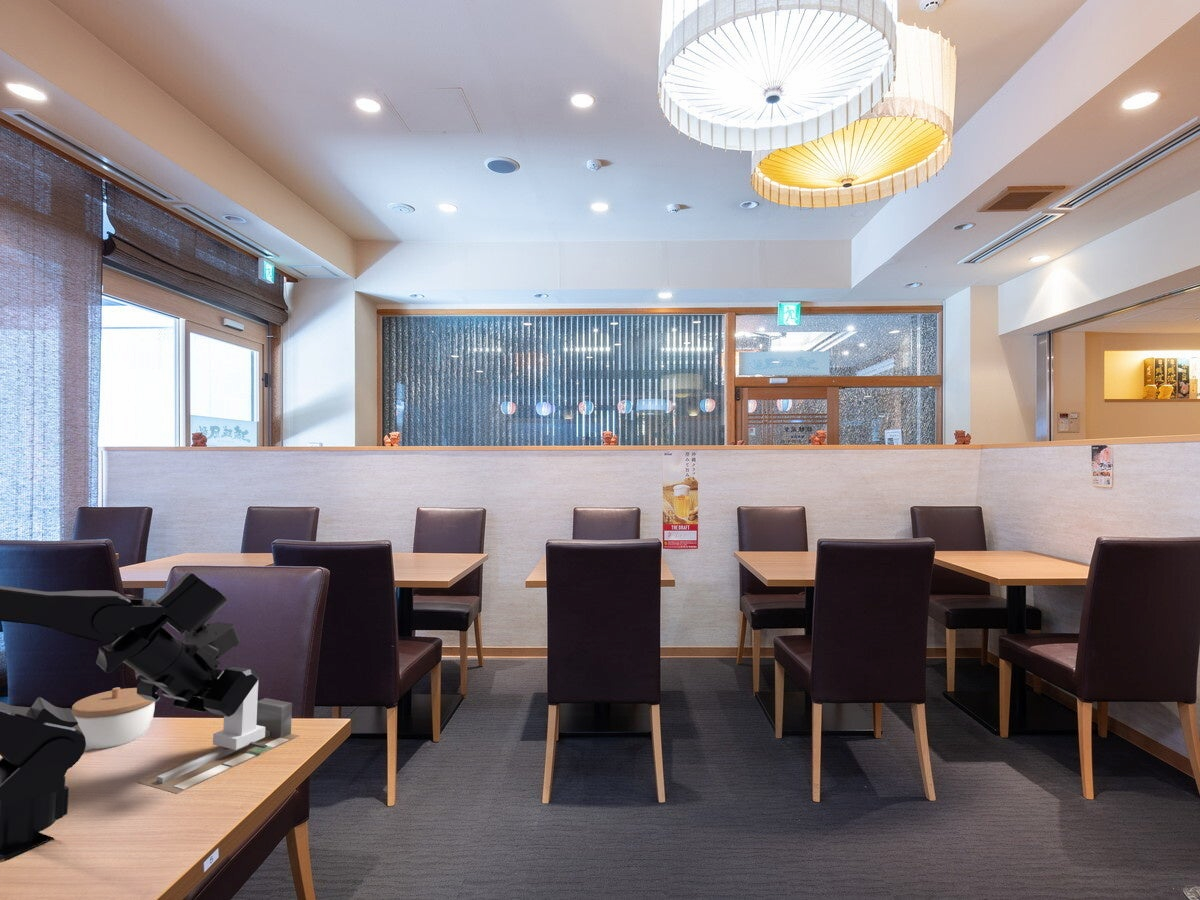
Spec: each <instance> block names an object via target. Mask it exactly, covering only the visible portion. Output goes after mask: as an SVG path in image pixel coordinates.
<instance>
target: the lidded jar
mask: <svg viewBox="0 0 1200 900" xmlns="http://www.w3.org/2000/svg"><path fill="white" fill-rule="evenodd" d="M155 706H156V702H155V701H150V700H146V699H144V698H143V697H141V696H140V695H138V694H137V687H131V688H130V687H128V688H121V687H114V688H112V689H111V690H108V691H103V692H100V693H96V694H92V695H89V696H86V697H83V698H81V699H79V700H77V701H76V702H75V703H74V704H73V705H71V711H72V713H73V715H74V717H75V718H76V720H77V722H78V725H79V727H80V729H81V731H82V733H83V734H84V736H85V740H86V747H85V750H84V751H86V752H87V751H90V750H101V749H109V748H114V747H118V746H122V745H126V744H128V743H131V742H132V743H133V742H134V741H136V740H138V739H140V738H142V737H143V736H144V735H145V734H146V733H147V732H148V730H149V728H150V726H151V724H152V722H153V718H154V714H155Z"/></svg>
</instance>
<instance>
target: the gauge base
mask: <svg viewBox="0 0 1200 900" xmlns="http://www.w3.org/2000/svg"><path fill="white" fill-rule="evenodd" d="M292 714H293V702H289V701H285V700H283V701H282V700H278V699H273V698H269V697H264V698H262V699H260V700H257V722H256V725H259V726H264V727H265V737H264V738H262V739H260V740H257V741H255V742H256V743H260V744H264V745H267V747H266V748H260V747H256V746H251V745H249V744H248V745H246V746H244V747H242V748H239V749H237V750H234V749H230V748H226V747H221V746H218V747H217V748H215V749H212V750H210V751H208V752H205V753H202V754H201V755H198V756H196V757H193V758H192V759H189V760H186V761H183V762H182V763H180V764H177V765H175V766H173V767H170V768H168V769H166V770H163V771H160V772H157V773H156V774H154V775H151V776H149V777H147V778H144V779H142V780H140V781H137V783H138V784H141V785H144V786H147V787H151V788H154V789H158V790H162V791H164V792H169V793H172V794H175V795H177V794H180V793H182V792H184V791H186V790H188V789H190V788H192V787H195V786H197V785H199V784H201V783H204V782H206V781H208V780H209V779H211V778H213V777H216V776H218V775H219V774H222V773H225V772H226V771H229V770H231V769H233V768H235V767H238V766H239V765H241V764H243V763H246V762H248V761H249V760H252V759H254V758H257V757H258V756H261V755H263V754H265V753H267V752H269V751H271V750H273V749H276V748H278V747H279V746H282V745H285V744H286V743H288V742H290V741H292V740H295V739H297V738H299V737H300V735H298V734H294V733H292V718H293V717H292V716H293V715H292Z"/></svg>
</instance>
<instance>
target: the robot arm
mask: <svg viewBox="0 0 1200 900" xmlns="http://www.w3.org/2000/svg"><path fill="white" fill-rule="evenodd" d="M228 601H229V600H228V599H227V598H226V597H225V596H224V595H223V594H222V593H221V592H220V591H218V590H217V588H216V587H213V586H211V585H209V584H208V583H206V582H205V581H203V580H202V579H201V578H199V577H198V576H196V574H194V572H190V571H189V572H188V571H187V572H186V573H185V574H183V576H181V577H180V579H179V580H177V582H176V583H175V584H174V585H173V586H171V588H169V589H168V590H167V591H166V592H164V594H162V595H161V596H160V597H158V599H157V600H153V599H152V598H151V599H150V598H149V599H147V598H127V597H126V596H124V595H122V594H120V593H119V592H117V591H114V590H110V589H109V590H104V589H102V590H96V589H95V590H83V589H82V590H78V589H77V590H64V591H44V590H43V591H42V590H37V589H36V590H35V589H28V588H21V587H20V588H19V587H13V586H6V585H5V586H4V585H0V622H6V623H7V622H8V623H17V624H19V623H20V624H27V625H36V626H40V627H43V628H49V629H50V630H51V629H52V630H55V631H58V632H61V633H64V634H67V635H70V636H75V637H78V638H82V639H86V640H91V641H94V642H100V643H105V642H106V643H107V642H111V643H110V644H107V645H103V646H100V647H98V655H97V659H96V661H95V663H96V665H98V666H99V667H100V669H102V670H103V672H105V673H106V674H110V673H112V672H114V670H115V669H116V668H118V667H119V666H120V665H122V663H124V664H125V665H127V666H128V667H129V668H131V669H133V671H135V672H137V673H138V674H139V675H141V677H139V680H140V681H139V682H138V683H137V684H136V688H137V694H138V695H140V696H141V697H143V698H144V699H146V700H150V701H155V703H156V702H159V700H160V699H161V696H160V695H162V696H164V698H169V699H174V701H173V702H172V705H173V706H174V707H177V708H181V709H186V710H192V711H196V712H199V713H210V714H214V715H218V716H222V717H224V716H226V717H230V716H231V715H233V714H234V713H235V712H236V711H237V709H238V708H239V706H240V705H241V704H242V702H243V701H244V699H245V698H246V697H247V695H248V694H249V692H250V691H251V689H252V688H253V687H254V685H255V684H256V682H257V681H258V682H259V675H258V674H257V673H256V672H254V671H253V670H252V669H250V668H245V667H239V666H232V667H228V668H225V669H224V670H223V669H217V668H218V667H219V666H220V664H221V662H220V661H219V660H218V659H220V658H221V657H222V656H223V655H225V654H226V653H227V652H229V651H230V650H232V648H236V647H238V645H240V643H241V640H240V637H239V635H238V633H237V630H236V627H235V626H234V624H233V623H227V622H221V621H220V622H219V621H217V622H213V623H212V622H208V621H209V620H210V619H211V618H212V617H213V616H214V615H215V614H216V613H217V612H218V611H220V610H221V608H223V607H224V606H225V605H226V604H227V603H228ZM206 622H208V623H207V624H205V623H206ZM166 624H168V625H169V626H170V627H171V628H173V629H174V630H175V631H176V632H178V633H179V634H181V635H182V634H184V633H185V634H184V641H185V642H184V643H183V642H182V641H181V640H180V639H179V638H177V637H176V636H175V635H174V634H173V633H171V632H170V631H168V629H166V628H165V627H163V626H164V625H166ZM112 641H113V642H112ZM160 689H161V692H160V695H159V694H157V692H158V691H159V690H160ZM85 747H86V740H85V736H84V734H83V733H82V731H81V729H80V727H79V725H78V722H77V720H76V718H75V717H74V715H73V713H72V708H69V707H68V708H67V707H66V708H65V707H59V706H55V705H53V704H52V703H50V702H49V701H48V700H46V699H44V698H43V697H41V696H38V697H37V698H36V700H35V701H34V703H33V704H32V705H31V706H30V707H28V706H18V705H17V706H16V705H10V704H7V703H5V702H1V701H0V756H1V758H0V859H1V860H6V859H9V858H12V857H14V856H16V855H19V854H22V853H23V852H25V851H28V850H29V849H32V848H35V847H36V846H38V845H41V844H43V843H45V842H48V841H50V840H51V839H52V840H53V839H54V837H53V836H50V835H47V834H44V833H42V831H44V830H46V829H48V828H49V827H51V826H53V824H55V822H56V821H58V820H60V819H62V818H63V817H64V816H66V815H68V812H69V811H68V809H69V808H68V807H69V796H70V793H69V792H70V787H69V786H66V776H65V775H66V773H67V772H68V770H69V769H72V767H73V766H75V765H76V763H78V761H80V760H81V757H83V754H84V752H85V751H86V750H85Z"/></svg>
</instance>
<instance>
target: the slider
mask: <svg viewBox="0 0 1200 900" xmlns="http://www.w3.org/2000/svg"><path fill="white" fill-rule="evenodd" d="M258 695H259V680H258V681H257V682H256V684H255V685H254V687H253V688H252V689H251V691H250V692H249V694H248V695H247V697H246V698H245V699H244V701H243V702H242V704H241V705H240V706H239V708H238V709H237V711H236V712H235V713H234V714H233V715H231V716H230V717H226V716H223V729H222V730H220V731H217V732H215V733H213V735H212V736H213V737H212V746H213V745H214V746H218V747H226V748H230V749H234V750H237V749H239V748H242V747H244V746H246V745H248V744H249V745H251V746H256V747H260V748H266V747H267V745H264V744H260V743H256V742H255V741H257V740H260V739H262V738H264V737H265V727H264V726H259V725H256V722H257V701H259V700H258V697H259V696H258Z"/></svg>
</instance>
